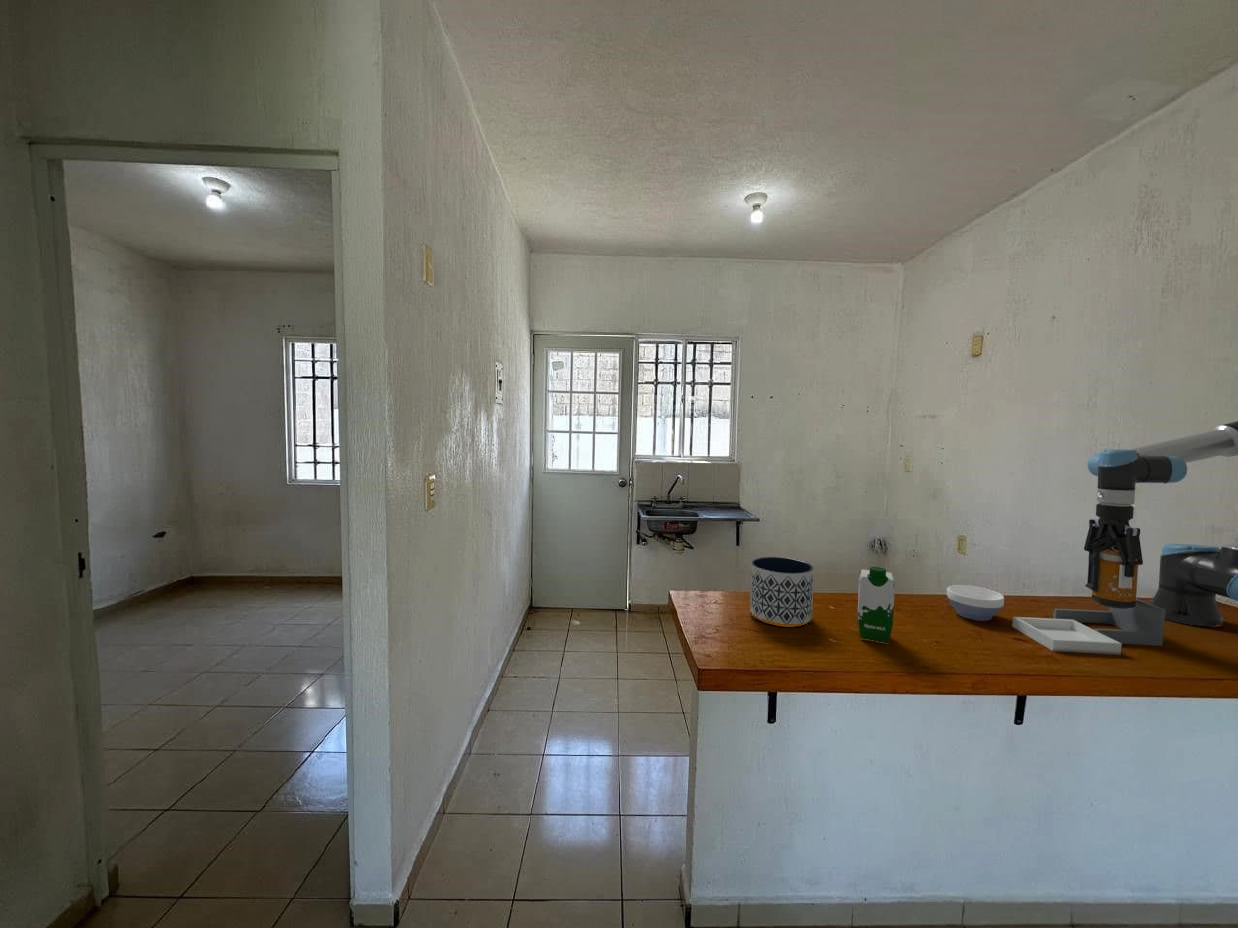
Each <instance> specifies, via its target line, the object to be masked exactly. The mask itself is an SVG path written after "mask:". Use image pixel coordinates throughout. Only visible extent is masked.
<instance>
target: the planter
mask: <svg viewBox="0 0 1238 928" xmlns="http://www.w3.org/2000/svg"><path fill="white" fill-rule="evenodd" d="M814 569H815V568H814V566H813V565H812V564H811V563H809V562H807V561H803V560H801V559H796V558H791V557H790V558H789V557H780V556H763V557H757V558H755V559H752V560H751V563H750V591H749V592H750V594H749V596H750V597H749V598H750V599H749V612H750V611H751V612H752V614H754V615H755V616H756V617H758V618H760V619H765V620H767V621H771V622H775V623H780V624H796V625H797V624H804V623H807V622H809V621H810V620H811V619H812V620H813V601H814V600H813V599H814V598H813V597H814V577H815V576H814Z"/></svg>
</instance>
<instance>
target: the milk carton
mask: <svg viewBox="0 0 1238 928" xmlns="http://www.w3.org/2000/svg"><path fill="white" fill-rule="evenodd" d="M895 585H896V584H895V580H894V575H893V574H892V572H887V569H885V568H883V567H878V566H877V567H876V566H871V567H869V569H861V571H860V576H859V579H858V596H857V623H858V630H859V637H860V638H863V639H869V640H874V641H879V642H885V643H889V644H890V642H891V636H892V633H893V632H892V631H893V627H894V625H893V624H894V612H895V611H894V609H895V608H894V606H895Z"/></svg>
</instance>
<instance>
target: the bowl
mask: <svg viewBox="0 0 1238 928" xmlns="http://www.w3.org/2000/svg"><path fill="white" fill-rule="evenodd" d="M946 595H947V596H946V597H947V598H948V600H949V602H950V604H951V606H952V608H953V609H954V610H955V612H956V614H957V615H959V616H961V617H962V618H965V619H967V620H971V619H972V621H977V622H987V621H991V620H992V619H993V617H995V616H996V615H998V613H999V612H1000V611H1001V610H1002V608H1003V607H1004V604H1005V596H1004V595H1003V594H1002V593H999V592H998V591H995V590H992V589H989V588H985V587H980V586H974V585H967V584H966V585H965V584H955V585H949V586H948V587H947V588H946Z"/></svg>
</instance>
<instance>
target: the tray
mask: <svg viewBox="0 0 1238 928" xmlns="http://www.w3.org/2000/svg"><path fill="white" fill-rule="evenodd" d="M1012 628H1014V629H1015V630H1017V631H1019V632H1021V633H1022V634H1024V635H1025V636H1027V637H1029V638H1030V639H1032V640H1034V641H1035V642H1037V643H1039V644H1040V645H1042V646H1044V647H1046V648H1047V649H1048V650H1050V651H1052V652H1063V653H1065V652H1066V653H1079V654H1080V653H1084V654H1085V653H1086V654H1096V655H1097V654H1100V655H1101V654H1102V655H1114V656H1115V655H1117V656H1121V654H1122V645H1123V644H1122V643H1119V642H1117V641H1115V640H1113V639H1111V638H1109V637H1107V636H1105V635H1103V634H1101V633H1099V632H1097V631H1095V630H1094V629H1093V628H1090V627H1089V626H1086V625H1085V624H1083V623H1082V622H1077V621H1075V620H1070V619H1053V618H1050V617H1049V618H1047V617H1045V618H1043V617H1025V616H1024V617H1023V616H1012Z"/></svg>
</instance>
